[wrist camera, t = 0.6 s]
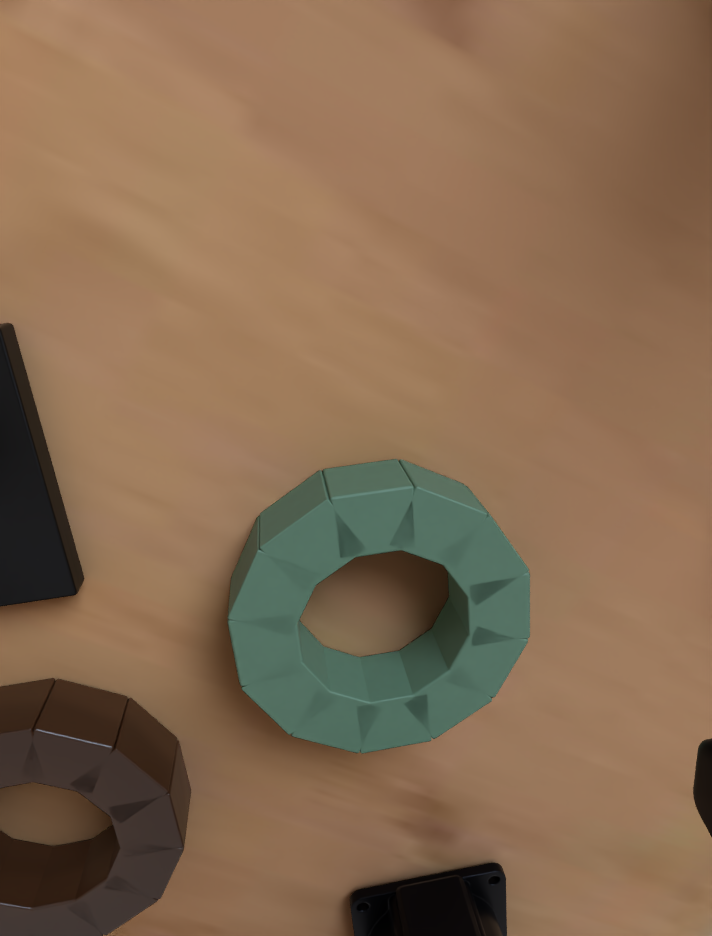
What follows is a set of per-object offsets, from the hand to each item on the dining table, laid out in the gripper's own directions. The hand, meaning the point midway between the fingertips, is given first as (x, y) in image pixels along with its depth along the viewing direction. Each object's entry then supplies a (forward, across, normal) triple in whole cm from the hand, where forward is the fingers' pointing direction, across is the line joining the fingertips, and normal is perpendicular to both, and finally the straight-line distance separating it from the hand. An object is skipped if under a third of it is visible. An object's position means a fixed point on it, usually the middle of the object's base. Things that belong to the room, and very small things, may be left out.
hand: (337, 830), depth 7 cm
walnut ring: (+14, +10, +11) cm, 20 cm away
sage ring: (+13, -2, +5) cm, 14 cm away
